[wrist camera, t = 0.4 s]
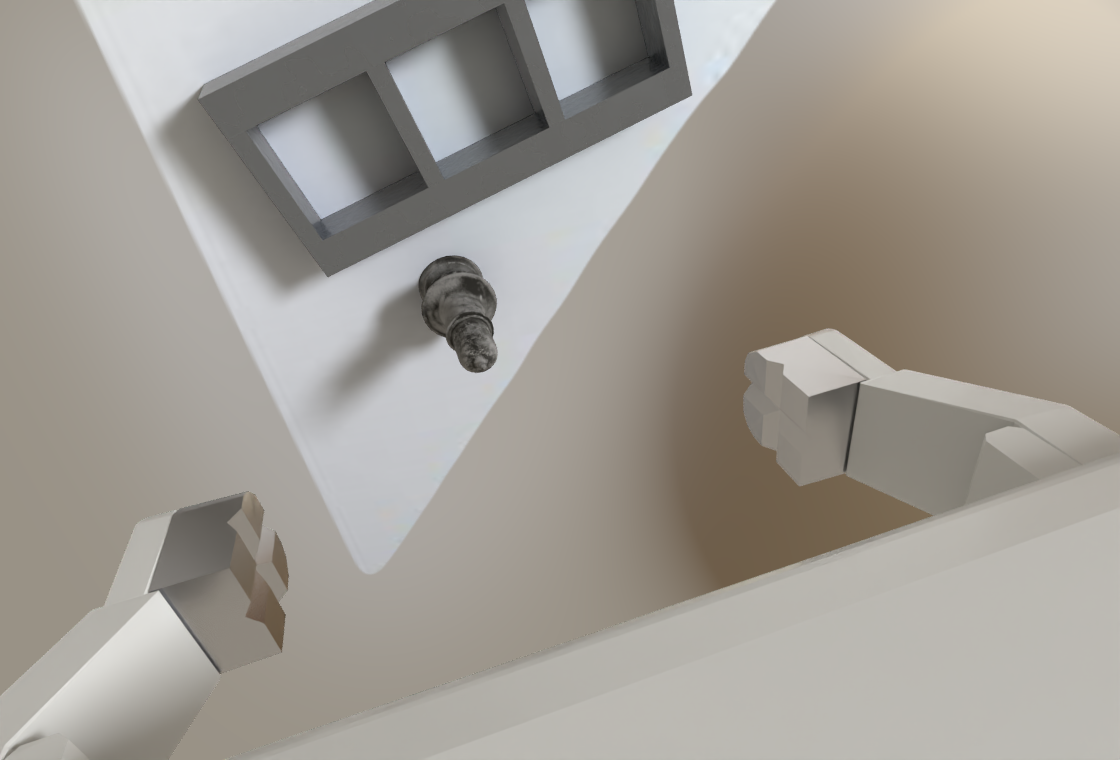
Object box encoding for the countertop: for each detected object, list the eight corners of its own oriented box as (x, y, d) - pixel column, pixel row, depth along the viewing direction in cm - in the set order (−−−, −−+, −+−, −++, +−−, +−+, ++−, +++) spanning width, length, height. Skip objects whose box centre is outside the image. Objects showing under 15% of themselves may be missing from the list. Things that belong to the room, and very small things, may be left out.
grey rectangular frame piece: (204, 84, 39) (197, 99, 36) (625, -124, 40) (649, -124, 37) (325, 255, 48) (327, 277, 45) (670, 83, 48) (692, 95, 46)
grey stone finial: (422, 322, 54) (448, 412, 45) (408, 259, 50) (433, 344, 41) (490, 307, 55) (528, 392, 46) (482, 245, 51) (521, 324, 42)
